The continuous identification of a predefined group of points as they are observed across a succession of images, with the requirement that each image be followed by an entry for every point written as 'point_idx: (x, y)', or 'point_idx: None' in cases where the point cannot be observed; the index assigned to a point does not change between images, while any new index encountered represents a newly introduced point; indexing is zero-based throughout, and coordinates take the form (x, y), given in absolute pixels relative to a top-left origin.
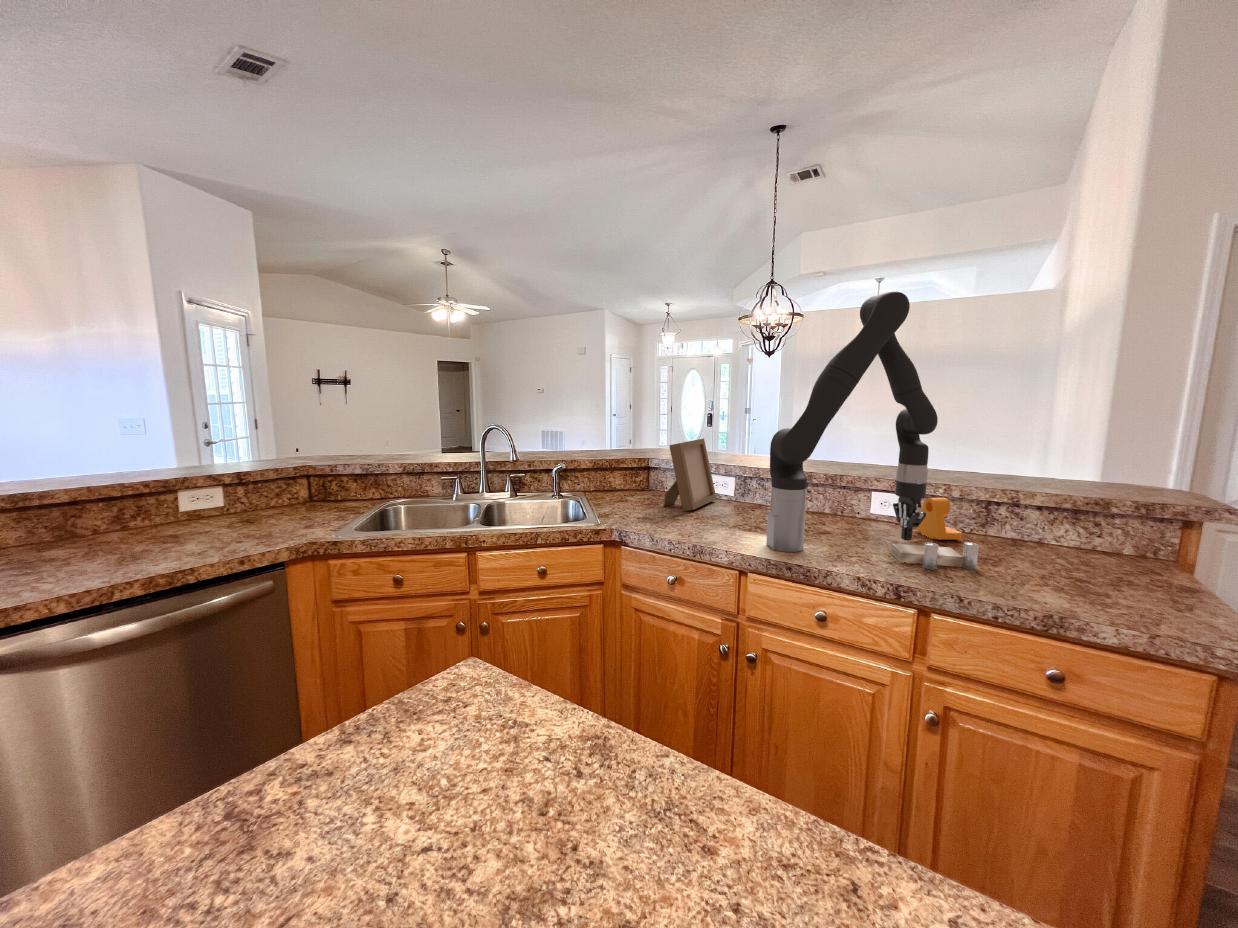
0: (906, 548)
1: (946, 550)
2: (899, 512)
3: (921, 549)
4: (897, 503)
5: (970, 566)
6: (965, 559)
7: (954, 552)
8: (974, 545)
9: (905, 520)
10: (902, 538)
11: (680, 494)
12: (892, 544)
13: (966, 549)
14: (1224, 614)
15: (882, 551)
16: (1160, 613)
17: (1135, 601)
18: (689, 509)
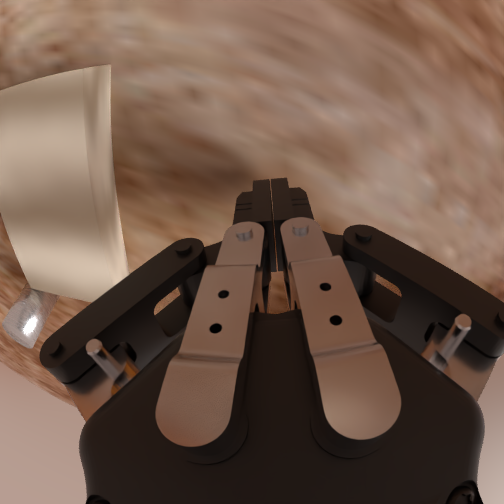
0: (25, 130)
1: (72, 278)
2: (348, 291)
3: (37, 193)
4: (488, 361)
5: None
6: (25, 285)
7: (63, 290)
8: (10, 333)
9: (238, 263)
10: (271, 179)
11: None
12: (79, 69)
13: (10, 309)
14: (57, 397)
15: (122, 23)
16: (21, 365)
17: (42, 374)
18: None
